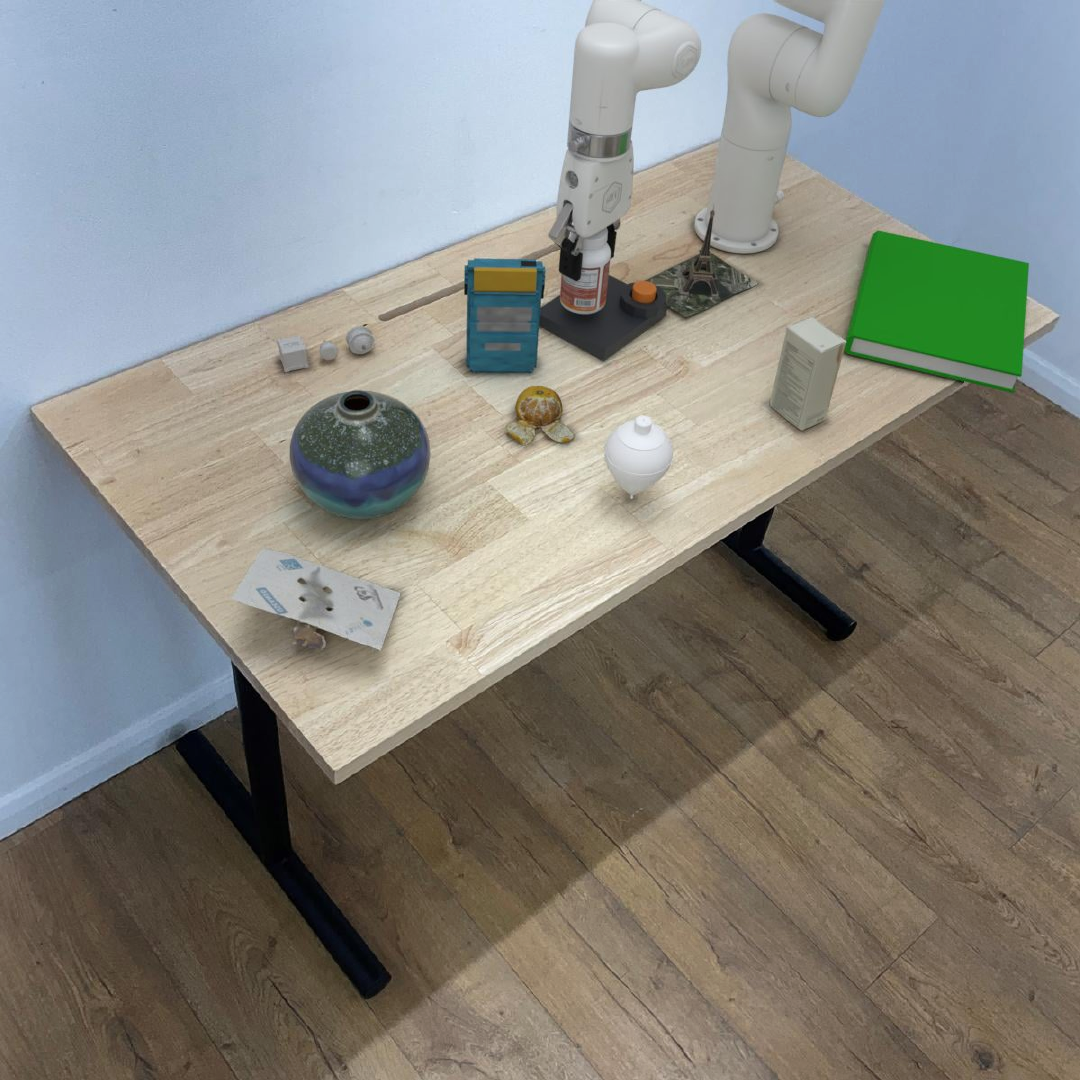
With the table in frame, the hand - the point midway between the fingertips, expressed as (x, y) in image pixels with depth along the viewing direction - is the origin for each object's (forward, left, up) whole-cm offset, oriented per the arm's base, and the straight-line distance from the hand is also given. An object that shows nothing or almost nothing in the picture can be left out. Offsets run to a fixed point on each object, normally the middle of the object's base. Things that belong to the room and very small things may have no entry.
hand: (586, 264), depth 151 cm
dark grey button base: (-2, +2, -9) cm, 10 cm away
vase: (+43, +2, -9) cm, 44 cm away
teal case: (+14, -1, -9) cm, 17 cm away
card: (+62, +12, -9) cm, 64 cm away
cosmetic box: (-4, +31, -9) cm, 33 cm away
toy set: (+30, -17, -8) cm, 35 cm away
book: (-36, +35, -9) cm, 51 cm away
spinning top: (+22, +26, -9) cm, 35 cm away
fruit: (+20, +9, -9) cm, 24 cm away
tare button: (-7, +5, -6) cm, 11 cm away
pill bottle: (0, 0, -6) cm, 6 cm away
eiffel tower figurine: (-19, +7, -9) cm, 22 cm away
